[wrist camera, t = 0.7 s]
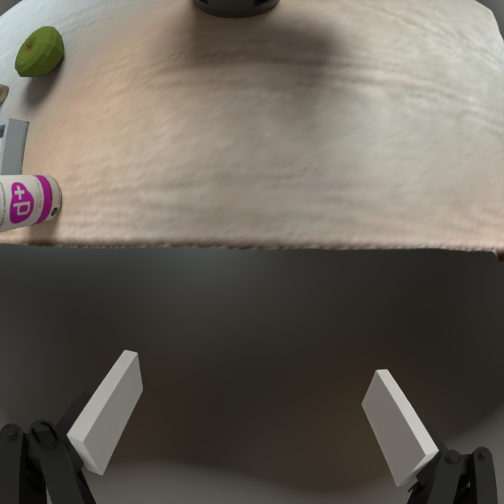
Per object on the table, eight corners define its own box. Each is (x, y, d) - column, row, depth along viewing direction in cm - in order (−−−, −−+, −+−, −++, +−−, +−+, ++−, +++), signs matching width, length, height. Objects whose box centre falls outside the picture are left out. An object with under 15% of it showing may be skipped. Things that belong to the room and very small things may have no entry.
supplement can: (66, 177, 37) (4, 177, 22) (60, 224, 38) (0, 240, 24) (37, 173, 36) (-21, 174, 22) (32, 216, 38) (-24, 229, 23)
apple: (53, 38, 30) (27, 22, 20) (83, 38, 31) (57, 17, 21) (29, 83, 32) (-1, 72, 22) (57, 86, 33) (24, 73, 23)
